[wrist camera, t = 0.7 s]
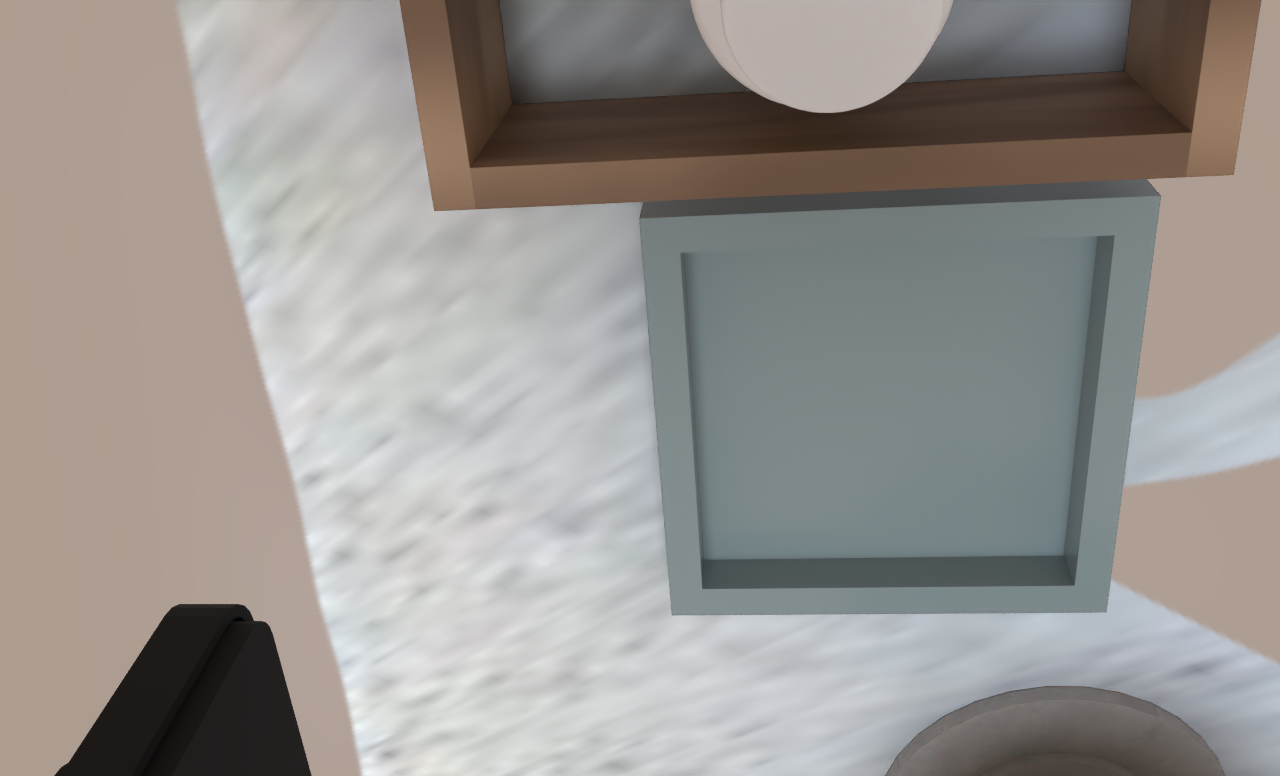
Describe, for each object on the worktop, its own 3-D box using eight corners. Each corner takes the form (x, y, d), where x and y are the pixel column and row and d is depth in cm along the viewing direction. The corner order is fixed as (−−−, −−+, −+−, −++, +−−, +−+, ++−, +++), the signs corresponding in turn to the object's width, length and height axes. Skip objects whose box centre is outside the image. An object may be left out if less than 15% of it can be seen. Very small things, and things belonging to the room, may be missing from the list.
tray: (646, 187, 33) (639, 218, 31) (1133, 164, 32) (1161, 195, 30) (676, 566, 40) (671, 615, 37) (1086, 561, 38) (1106, 612, 36)
